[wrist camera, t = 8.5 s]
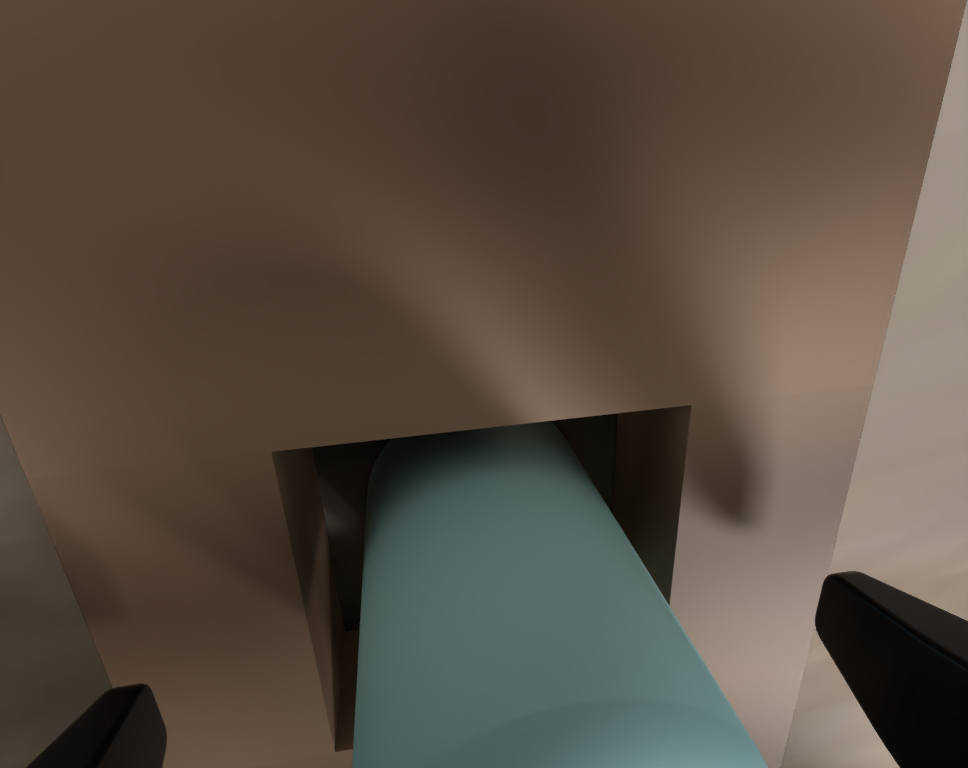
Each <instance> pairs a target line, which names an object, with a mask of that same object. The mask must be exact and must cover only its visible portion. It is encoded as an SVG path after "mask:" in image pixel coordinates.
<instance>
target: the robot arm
mask: <svg viewBox="0 0 968 768" xmlns="http://www.w3.org/2000/svg"><path fill="white" fill-rule="evenodd" d="M815 626H816V630H817V632H818V635H819V637H820V639H821V641H822V642H823V644H824V646H825V647H826V649H827V651H828V652H829V654H830V656H831V657H832V659H833V661H834V662H835V664H836V666H837V667H838V669H839V671H840V672H841V674H842V676H843V677H844V679H845V681H846V682H847V684H848V686H849V687H850V689H851V691H852V692H853V694H854V696H855V697H856V699H857V701H858V702H859V704H860V706H861V707H862V709H863V711H864V712H865V714H866V716H867V717H868V719H869V721H870V722H871V724H872V726H873V727H874V729H875V731H876V732H877V734H878V735H879V737H880V738H881V740H882V742H883V743H884V745H885V746H886V748H887V749H888V751H889V752H890V754H891V755H892V757H893V758H894V760H895V761H896V762H897V764H898V765H899V767H900V768H968V621H966V620H964V619H962V618H960V617H958V616H955V615H953V614H951V613H949V612H947V611H944V610H942V609H940V608H938V607H936V606H934V605H931V604H929V603H927V602H925V601H923V600H920V599H918V598H916V597H914V596H912V595H909V594H907V593H905V592H903V591H901V590H898V589H896V588H894V587H892V586H890V585H887V584H885V583H883V582H881V581H879V580H876V579H874V578H872V577H870V576H868V575H865V574H863V573H861V572H857V571H848V572H841V573H835V574H830V575H828V576H827V577H826V578H825V579H824V581H823V585H822V589H821V593H820V597H819V601H818V606H817V610H816V614H815ZM166 747H167V731H166V726H165V723H164V721H163V718H162V715H161V713H160V710H159V707H158V705H157V702H156V699H155V697H154V694H153V691H152V690H151V688H150V687H149V686H148V685H147V684H143V683H139V684H133V685H127V686H120V687H115V688H112V689H109V690H108V691H106V692H105V693H104V694H103V695H101V696H100V697H99V698H98V699H97V700H96V701H95V702H94V703H93V704H92V705H91V706H90V707H89V708H88V709H87V710H86V711H85V712H84V713H82V714H81V715H80V716H79V717H78V718H77V719H76V720H75V721H74V722H73V723H72V724H71V725H70V726H69V727H68V728H67V729H66V730H65V731H64V732H63V733H62V734H61V735H60V736H58V737H57V738H56V739H55V740H54V741H53V742H52V743H51V744H50V745H49V746H48V747H47V748H46V749H45V750H44V751H43V752H42V753H41V754H40V755H39V756H38V757H37V758H35V759H34V760H33V761H32V762H31V763H30V764H29V765H28V766H27V767H26V768H162V767H163V762H164V757H165V753H166Z"/></svg>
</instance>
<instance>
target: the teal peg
mask: <svg viewBox="0 0 968 768" xmlns="http://www.w3.org/2000/svg"><path fill="white" fill-rule="evenodd" d="M352 768H767V765H766V763H765V761H764V759H763V757H762V755H761V753H760V751H759V750H758V748H757V746H756V745H755V743H754V742H753V740H752V738H751V737H750V735H749V733H748V732H747V730H746V729H745V727H744V725H743V724H742V722H741V721H740V719H739V717H738V716H737V714H736V712H735V711H734V709H733V708H732V706H731V704H730V703H729V701H728V700H727V698H726V696H725V695H724V693H723V692H722V690H721V688H720V687H719V685H718V683H717V682H716V680H715V679H714V677H713V675H712V674H711V672H710V671H709V669H708V667H707V666H706V664H705V662H704V661H703V659H702V658H701V656H700V654H699V653H698V651H697V650H696V648H695V646H694V645H693V643H692V642H691V640H690V638H689V637H688V635H687V633H686V632H685V630H684V629H683V627H682V625H681V624H680V622H679V621H678V619H677V617H676V616H675V614H674V613H673V611H672V609H671V608H670V606H669V604H668V603H667V601H666V600H665V598H664V596H663V595H662V593H661V592H660V590H659V588H658V587H657V585H656V583H655V582H654V580H653V579H652V577H651V575H650V574H649V572H648V571H647V569H646V567H645V566H644V564H643V563H642V561H641V559H640V558H639V556H638V554H637V553H636V551H635V550H634V548H633V546H632V545H631V543H630V542H629V540H628V538H627V537H626V535H625V533H624V532H623V530H622V529H621V527H620V525H619V524H618V522H617V521H616V519H615V517H614V516H613V514H612V513H611V511H610V509H609V508H608V506H607V504H606V503H605V501H604V500H603V498H602V496H601V495H600V493H599V492H598V490H597V488H596V487H595V485H594V483H593V482H592V480H591V479H590V477H589V475H588V474H587V472H586V471H585V469H584V467H583V466H582V464H581V463H580V461H579V459H578V458H577V456H576V454H575V453H574V451H573V450H572V448H571V446H570V445H569V443H568V442H567V440H566V438H565V437H564V436H563V434H562V433H561V432H560V431H559V429H558V428H557V427H556V426H555V425H554V424H553V423H552V422H550V421H544V422H535V423H526V424H517V425H508V426H499V427H490V428H481V429H472V430H463V431H454V432H445V433H436V434H427V435H418V436H409V437H400V438H391V439H390V440H389V442H388V443H387V444H386V445H385V447H384V448H383V449H382V451H381V453H380V454H379V456H378V458H377V460H376V462H375V464H374V467H373V469H372V471H371V475H370V479H369V483H368V493H367V508H366V526H365V544H364V562H363V580H362V598H361V616H360V634H359V652H358V671H357V689H356V707H355V725H354V743H353V761H352Z"/></svg>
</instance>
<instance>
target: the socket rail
mask: <svg viewBox="0 0 968 768" xmlns="http://www.w3.org/2000/svg"><path fill="white" fill-rule="evenodd" d="M966 2H967V0H0V415H1V418H2V420H3V423H4V425H5V427H6V430H7V432H8V435H9V437H10V440H11V442H12V444H13V447H14V449H15V452H16V454H17V457H18V459H19V461H20V464H21V466H22V469H23V471H24V474H25V476H26V478H27V481H28V483H29V486H30V488H31V491H32V493H33V496H34V498H35V500H36V503H37V505H38V508H39V510H40V513H41V515H42V517H43V520H44V522H45V525H46V527H47V530H48V532H49V534H50V537H51V539H52V542H53V544H54V547H55V549H56V551H57V554H58V556H59V559H60V561H61V564H62V566H63V568H64V571H65V573H66V576H67V578H68V581H69V583H70V586H71V588H72V590H73V593H74V595H75V598H76V600H77V603H78V605H79V607H80V610H81V612H82V615H83V617H84V620H85V622H86V624H87V627H88V629H89V632H90V634H91V637H92V639H93V641H94V644H95V646H96V649H97V651H98V654H99V656H100V659H101V661H102V663H103V666H104V668H105V671H106V673H107V676H108V678H109V680H110V683H111V685H112V688H115V687H120V686H127V685H133V684H139V683H143V684H147V685H148V686H149V687H150V688H151V690H152V691H153V694H154V697H155V699H156V702H157V705H158V707H159V710H160V713H161V715H162V718H163V721H164V723H165V726H166V731H167V747H166V753H165V757H164V762H163V767H162V768H352V761H353V743H354V725H355V707H356V689H357V671H358V652H359V634H360V629H359V630H352V631H346V632H345V629H344V623H343V618H342V612H341V607H340V601H339V596H338V590H337V585H336V579H335V573H334V568H333V562H332V557H331V551H330V546H329V540H328V535H327V529H326V524H325V518H324V512H323V507H322V501H321V496H320V490H319V485H318V479H317V474H316V468H315V463H314V457H313V451H312V447H319V446H328V445H337V444H346V443H355V442H364V441H373V440H382V439H391V438H400V437H409V436H418V435H427V434H436V433H445V432H454V431H463V430H472V429H481V428H490V427H499V426H508V425H517V424H526V423H535V422H544V421H553V420H562V419H571V418H580V417H589V416H598V415H607V414H616V413H618V419H617V437H616V455H615V473H614V491H613V510H612V514H613V516H614V517H615V519H616V521H617V522H618V524H619V525H620V527H621V529H622V530H623V532H624V533H625V535H626V537H627V538H628V540H629V542H630V543H631V545H632V546H633V548H634V550H635V551H636V553H637V554H638V556H639V558H640V559H641V561H642V563H643V564H644V566H645V567H646V569H647V571H648V572H649V574H650V575H651V577H652V579H653V580H654V582H655V583H656V585H657V587H658V588H659V590H660V592H661V593H662V595H663V596H664V598H665V600H666V601H667V603H668V604H669V606H670V608H671V609H672V611H673V613H674V614H675V616H676V617H677V619H678V621H679V622H680V624H681V625H682V627H683V629H684V630H685V632H686V633H687V635H688V637H689V638H690V640H691V642H692V643H693V645H694V646H695V648H696V650H697V651H698V653H699V654H700V656H701V658H702V659H703V661H704V662H705V664H706V666H707V667H708V669H709V671H710V672H711V674H712V675H713V677H714V679H715V680H716V682H717V683H718V685H719V687H720V688H721V690H722V692H723V693H724V695H725V696H726V698H727V700H728V701H729V703H730V704H731V706H732V708H733V709H734V711H735V712H736V714H737V716H738V717H739V719H740V721H741V722H742V724H743V725H744V727H745V729H746V730H747V732H748V733H749V735H750V737H751V738H752V740H753V742H754V743H755V745H756V746H757V748H758V750H759V751H760V753H761V755H762V757H763V759H764V761H765V763H766V765H767V768H781V764H782V760H783V756H784V752H785V748H786V744H787V739H788V735H789V731H790V727H791V723H792V719H793V715H794V711H795V706H796V702H797V698H798V694H799V690H800V686H801V682H802V678H803V673H804V669H805V665H806V661H807V657H808V653H809V649H810V645H811V641H812V636H813V632H814V628H815V614H816V610H817V606H818V601H819V597H820V593H821V589H822V585H823V581H824V579H825V578H826V577H827V575H828V570H829V566H830V562H831V558H832V554H833V550H834V546H835V542H836V537H837V533H838V529H839V525H840V521H841V517H842V513H843V509H844V504H845V500H846V496H847V492H848V488H849V484H850V480H851V476H852V472H853V467H854V463H855V459H856V455H857V451H858V447H859V443H860V439H861V434H862V430H863V426H864V422H865V418H866V414H867V410H868V406H869V401H870V397H871V393H872V389H873V385H874V381H875V377H876V373H877V368H878V364H879V360H880V356H881V352H882V348H883V344H884V340H885V335H886V331H887V327H888V323H889V319H890V315H891V311H892V307H893V302H894V298H895V294H896V290H897V286H898V282H899V278H900V274H901V270H902V265H903V261H904V257H905V253H906V249H907V245H908V241H909V237H910V232H911V228H912V224H913V220H914V216H915V212H916V208H917V204H918V199H919V195H920V191H921V187H922V183H923V179H924V175H925V171H926V166H927V162H928V158H929V154H930V150H931V146H932V142H933V138H934V133H935V129H936V125H937V121H938V117H939V113H940V109H941V105H942V101H943V96H944V92H945V88H946V84H947V80H948V76H949V72H950V68H951V63H952V59H953V55H954V51H955V47H956V43H957V39H958V35H959V30H960V26H961V22H962V18H963V14H964V10H965V6H966Z"/></svg>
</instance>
